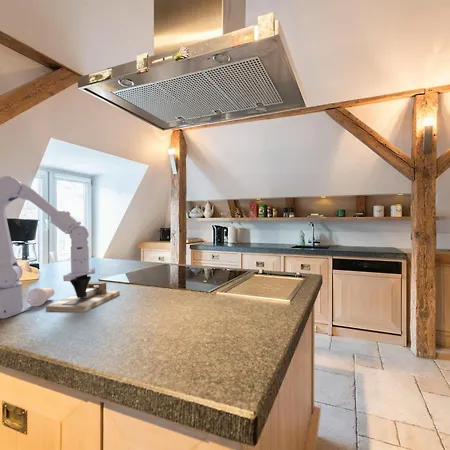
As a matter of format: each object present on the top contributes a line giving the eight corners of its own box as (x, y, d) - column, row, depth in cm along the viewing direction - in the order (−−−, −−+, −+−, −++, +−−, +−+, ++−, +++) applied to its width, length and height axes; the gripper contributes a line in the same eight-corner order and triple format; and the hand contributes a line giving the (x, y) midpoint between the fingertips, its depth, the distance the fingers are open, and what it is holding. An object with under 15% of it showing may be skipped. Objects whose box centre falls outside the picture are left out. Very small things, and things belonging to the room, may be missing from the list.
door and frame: (83, 312, 95) (83, 294, 95) (45, 310, 98) (45, 293, 98) (119, 294, 117) (119, 280, 117) (87, 293, 120) (87, 280, 119)
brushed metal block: (86, 298, 106) (86, 291, 105) (79, 297, 106) (79, 291, 106) (101, 291, 114) (101, 286, 114) (94, 291, 115) (94, 286, 115)
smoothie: (37, 296, 111) (15, 304, 98) (45, 281, 112) (24, 287, 98) (53, 303, 112) (33, 313, 98) (61, 288, 112) (42, 295, 99)
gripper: (76, 262, 97) (77, 303, 97) (102, 256, 111) (102, 292, 111) (57, 262, 98) (58, 302, 98) (85, 256, 112) (86, 292, 112)
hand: (80, 297), depth 105 cm, fingers closed
